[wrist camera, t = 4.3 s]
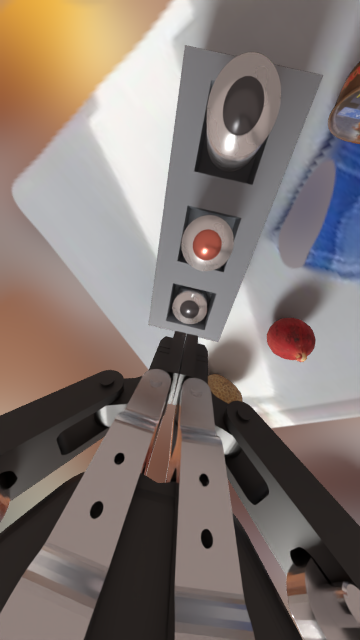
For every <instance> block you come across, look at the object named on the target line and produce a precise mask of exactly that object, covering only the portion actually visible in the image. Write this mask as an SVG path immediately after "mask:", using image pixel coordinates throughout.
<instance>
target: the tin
mask: <svg viewBox="0 0 360 640" xmlns="http://www.w3.org/2000/svg"><path fill="white" fill-rule="evenodd" d="M328 127H329V130H330V132H331V133H332V134H333V135H334V136H336V137H337V138H339V139H341V140H344V141H348V142H352V143H357V144H360V62H359V63H358V64H357V65H356V67H355V68H354V69H353V70H352V72H351V73H350V75H349V76H348V78H347V80H346V82H345V84H344V86H343V88H342V90H341V93H340V95H339V98H338V100H337V102H336V105H335V107H334V108H333V110H332V112H331V113H330V116H329V119H328Z"/></svg>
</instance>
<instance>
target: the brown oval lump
mask: <svg viewBox="0 0 360 640" xmlns="http://www.w3.org/2000/svg"><path fill="white" fill-rule="evenodd" d="M208 386H209V387H210V390H211V392H212V393H213V394H214V395H215V396H216V397H218V398H219V399H221V400H223V401H225V402H227V403H228V404H229V403H230V402H232V401H242V395H241V393H240V391H239V390H238V389H237V387H236V386H235V385H234V384H233V383H231V382H230V381H229V380H228V379H226V378H225V377H223V376H221V375H218V374H212V375H209V376H208Z"/></svg>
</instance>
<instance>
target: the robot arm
mask: <svg viewBox="0 0 360 640" xmlns="http://www.w3.org/2000/svg"><path fill="white" fill-rule="evenodd" d="M185 337H186V340H185ZM184 342H185V344H184ZM197 343H198V336H197V335H193V334H188V333H187V335H186V333H184V332H179V331H175V334H174V337H173V338H171V337H167V336H165V337H164V338H163V339H162V340H161V341H160V343H159V346H158V348H157V351H156V353H155V356H154V358H153V361H152V363H151V366H150V368H149V370H148V371H147V372H146V373H144V375H143V376H141V377H138V378H128V379H124V378H123V376H122V375H121V374H120V373H119V372H117V371H114V370H106V371H102V372H100V373H97V374H95V375H93V376H91V377H88V378H86V379H84V380H81V381H79V382H77V383H74V384H72V385H70V386H68V387H65V388H63V389H61V390H58V391H56V392H54V393H51V394H49V395H47V396H44V397H42V398H40V399H37V400H35V401H33V402H31V403H28V404H26V405H24V406H21V407H19V408H17V409H15V410H12V411H10V412H8V413H5V414H3V415H1V416H0V522H1V520H2V519H3V517H4V516H5V514H6V512H7V509H8V507H9V503H10V501H11V500H13V499H14V498H15V497H17V496H19V495H20V494H22V493H23V492H24V491H26V490H27V489H29V488H30V487H32V486H33V485H35V484H36V483H37V482H39V481H40V480H42V479H43V478H45V477H46V476H48V475H49V474H51V473H52V472H53V471H55V470H56V469H58V468H59V467H60V466H62V465H64V464H65V463H67V462H68V461H70V460H71V459H72V458H74V457H75V456H77V455H78V454H80V453H81V452H83V451H84V450H85V449H87V448H88V447H90V446H91V445H93V444H94V443H96V442H97V441H98V440H100V439H101V438H103V437H104V436H105V437H104V439H103V441H102V443H101V445H100V446H99V448H98V450H97V452H96V454H95V455H94V457H93V459H92V461H91V462H90V464H89V466H88V468H87V469H86V471H85V472H83V473H80V474H78V475H77V476H74V477H73V478H71V479H69V480H68V481H66V482H65V483H63V484H62V485H61V486H59V487H58V488H57V489H55V490H54V491H53V492H52V493H50V494H49V495H48V496H47V497H45V498H44V499H43V500H42V501H40V502H39V503H38V504H36V505H35V506H34V507H33V508H32V509H30V510H29V511H28V512H27V513H25V514H24V515H23V516H21V517H20V518H19V519H17V520H16V521H15V522H14V523H13V524H11V525H10V526H9V527H7V528H6V529H5V530H4V531H3V532H1V533H0V640H303V639H304V640H360V526H359V525H358V524H357V523H356V522H355V521H354V520H353V519H352V517H351V516H350V515H349V514H348V513H347V512H346V511H345V510H344V509H343V507H342V506H341V505H340V504H339V503H338V502H337V501H336V500H335V499H334V498H333V496H332V495H331V494H330V493H329V492H328V491H327V490H326V489H325V488H324V487H323V485H322V484H321V483H320V482H319V481H318V480H317V479H316V478H315V477H314V475H313V474H312V473H311V472H310V471H309V470H308V469H307V468H306V467H305V466H304V465H303V463H302V462H301V461H300V460H299V459H298V458H297V457H296V456H295V455H294V453H293V452H292V451H291V450H290V449H289V448H288V447H287V446H286V445H285V444H284V443H283V442H282V440H281V439H280V438H279V437H278V436H277V435H276V434H275V433H274V431H273V430H272V429H271V428H270V427H269V426H268V425H267V424H266V423H265V422H264V420H263V419H262V418H261V417H260V416H259V415H258V414H257V413H256V412H255V410H254V409H253V408H252V407H251V406H249V405H248V404H246V403H244V402H242V401H232V402H230V403H229V404H228V403H227V402H225V401H223V400H221V399H219V398H218V397H216V396H215V395H214V394H213V393H212V392H211V390H210V387H209V386H208V351H207V349H206V347H205V345H202V344H197ZM183 347H184V348H183ZM175 386H176V387H175ZM174 390H175V392H174ZM173 394H174V397H173ZM172 398H173V403H172V404H174V405H176V409H175V414H174V418H173V425H172V435H171V446H170V456H169V465H168V470H167V476H166V483H157V482H155V481H153V480H152V479H150V478H149V477H147V476H146V473H147V470H148V466H149V462H150V458H151V455H152V452H153V448H154V445H155V442H156V439H157V435H158V432H159V429H160V426H161V423H162V419H163V416H164V415H165V412H166V408H167V404H168V403H169V404H171V402H172ZM227 478H228V480H229V481H230V483H231V484H232V486H233V488H234V490H235V491H236V493H237V495H238V496H239V498H240V500H241V501H242V503H243V504H244V506H245V508H246V509H247V511H248V513H249V515H250V516H251V518H252V520H253V521H254V523H255V525H256V526H257V528H258V530H259V531H260V533H261V535H262V536H263V538H264V540H265V541H266V543H267V545H268V546H269V548H270V550H271V551H272V553H273V555H274V556H275V558H276V560H277V561H278V563H279V565H280V566H281V568H282V569H283V571H284V573H285V575H286V577H287V579H286V590H287V596H288V605H289V609H290V611H291V614H292V616H293V617H294V619H295V622H296V624H297V626H298V628H299V630H300V633H301V635H302V637H303V639H302V637H301V636H300V634H299V632H298V630H297V628H296V626H295V624H294V622H293V620H292V618H291V617H290V615H289V613H288V611H287V609H286V607H285V605H284V603H283V602H282V599H281V598H280V596H279V594H278V592H277V590H276V588H275V586H274V584H273V583H272V581H271V579H270V577H269V575H268V573H267V571H266V569H265V567H264V565H263V563H262V562H261V560H260V558H259V556H258V554H257V552H256V550H255V549H254V546H253V545H252V543H251V541H250V539H249V537H248V535H247V533H246V532H245V530H244V528H243V527H242V525H241V524H240V522H239V521H238V519H237V518H236V516H235V515H234V514H233V513H232V508H231V500H230V493H229V486H228V480H227Z"/></svg>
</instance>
